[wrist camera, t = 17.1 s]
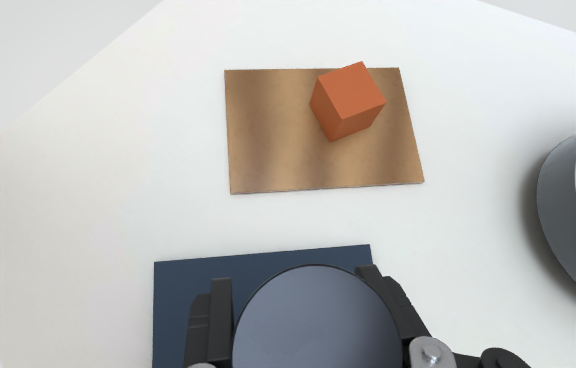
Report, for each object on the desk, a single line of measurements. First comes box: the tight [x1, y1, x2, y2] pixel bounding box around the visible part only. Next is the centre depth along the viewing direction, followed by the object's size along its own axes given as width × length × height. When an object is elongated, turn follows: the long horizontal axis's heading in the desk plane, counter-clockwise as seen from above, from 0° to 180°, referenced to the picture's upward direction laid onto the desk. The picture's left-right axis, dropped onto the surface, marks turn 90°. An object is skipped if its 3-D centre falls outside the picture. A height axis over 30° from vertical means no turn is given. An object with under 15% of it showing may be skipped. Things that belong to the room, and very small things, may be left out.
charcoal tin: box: [230, 264, 404, 368], centre depth 15 cm, size 5×5×11 cm
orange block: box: [309, 61, 387, 143], centre depth 37 cm, size 5×5×5 cm
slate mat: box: [152, 244, 373, 368], centre depth 32 cm, size 20×14×1 cm
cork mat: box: [224, 68, 424, 194], centre depth 39 cm, size 20×14×1 cm
